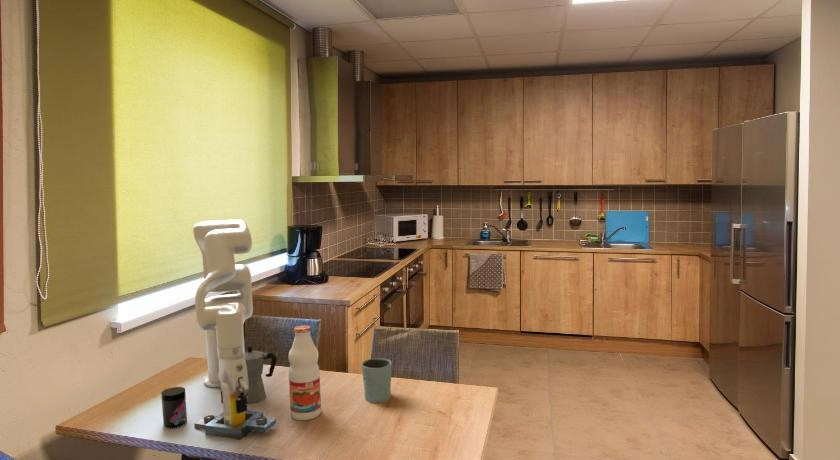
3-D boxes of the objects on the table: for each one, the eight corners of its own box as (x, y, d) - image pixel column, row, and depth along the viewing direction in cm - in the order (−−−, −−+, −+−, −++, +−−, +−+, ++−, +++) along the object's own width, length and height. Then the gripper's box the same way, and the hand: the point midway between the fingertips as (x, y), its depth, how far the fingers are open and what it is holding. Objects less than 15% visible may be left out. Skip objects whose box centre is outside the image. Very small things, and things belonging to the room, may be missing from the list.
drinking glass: (374, 406, 183) (373, 370, 182) (356, 397, 191) (355, 362, 190) (398, 397, 190) (397, 362, 189) (380, 389, 198) (379, 355, 196)
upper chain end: (205, 430, 165) (204, 422, 165) (229, 412, 177) (229, 405, 177) (259, 437, 160) (259, 429, 160) (281, 419, 172) (281, 411, 172)
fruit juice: (317, 405, 184) (314, 321, 181) (324, 417, 176) (321, 329, 173) (288, 411, 181) (284, 325, 178) (293, 423, 172) (289, 333, 169)
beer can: (249, 424, 172) (247, 377, 170) (237, 433, 166) (234, 384, 164) (233, 422, 174) (230, 374, 172) (219, 431, 168) (217, 382, 166)
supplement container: (165, 431, 168) (163, 397, 167) (161, 422, 174) (159, 390, 173) (189, 425, 172) (187, 392, 171) (184, 417, 178) (182, 385, 177)
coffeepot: (228, 404, 186) (225, 351, 184) (236, 393, 196) (233, 342, 194) (275, 403, 187) (273, 350, 185) (281, 392, 196) (279, 341, 194)
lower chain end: (187, 432, 167) (187, 424, 167) (213, 415, 179) (212, 408, 178) (241, 439, 162) (240, 431, 162) (264, 421, 174) (263, 414, 173)
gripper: (257, 354, 163) (260, 411, 165) (229, 342, 176) (232, 395, 178) (232, 361, 158) (235, 420, 160) (206, 347, 171) (209, 402, 173)
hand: (234, 407), depth 169 cm, fingers open, 9 cm apart
